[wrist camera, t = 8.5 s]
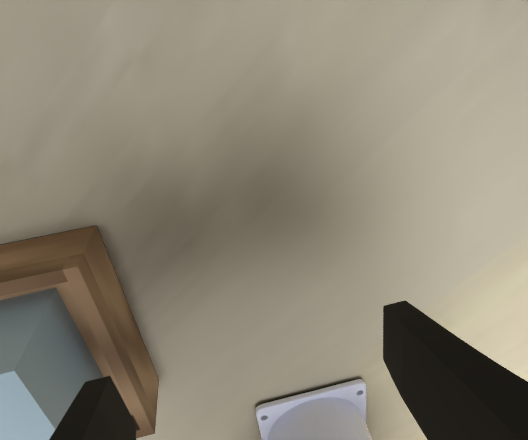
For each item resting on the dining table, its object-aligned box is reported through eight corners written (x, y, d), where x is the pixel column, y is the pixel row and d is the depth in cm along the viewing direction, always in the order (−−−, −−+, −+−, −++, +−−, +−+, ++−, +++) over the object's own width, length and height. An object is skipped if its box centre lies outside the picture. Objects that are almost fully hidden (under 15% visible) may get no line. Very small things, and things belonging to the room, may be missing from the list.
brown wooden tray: (158, 380, 23) (154, 433, 20) (39, 409, 23) (16, 468, 20) (96, 225, 18) (77, 266, 15) (-63, 257, 17) (-116, 307, 14)
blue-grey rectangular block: (117, 403, 20) (100, 494, 16) (41, 422, 20) (5, 521, 16) (56, 287, 16) (14, 370, 12) (-41, 309, 16) (-115, 402, 12)
